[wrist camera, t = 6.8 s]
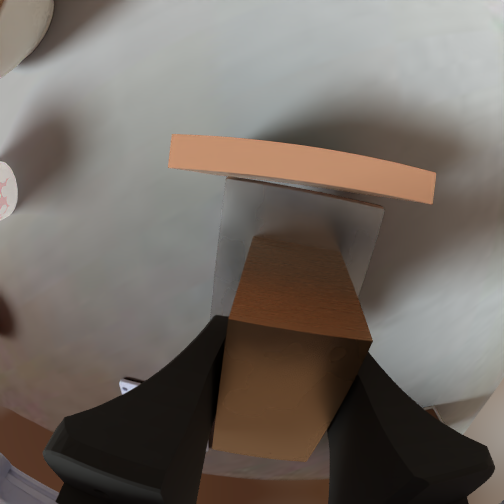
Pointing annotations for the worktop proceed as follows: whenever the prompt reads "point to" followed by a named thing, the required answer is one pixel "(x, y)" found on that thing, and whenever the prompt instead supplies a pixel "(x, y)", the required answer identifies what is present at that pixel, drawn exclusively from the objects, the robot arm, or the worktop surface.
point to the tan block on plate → (288, 313)
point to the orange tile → (301, 166)
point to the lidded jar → (22, 29)
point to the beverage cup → (7, 191)
